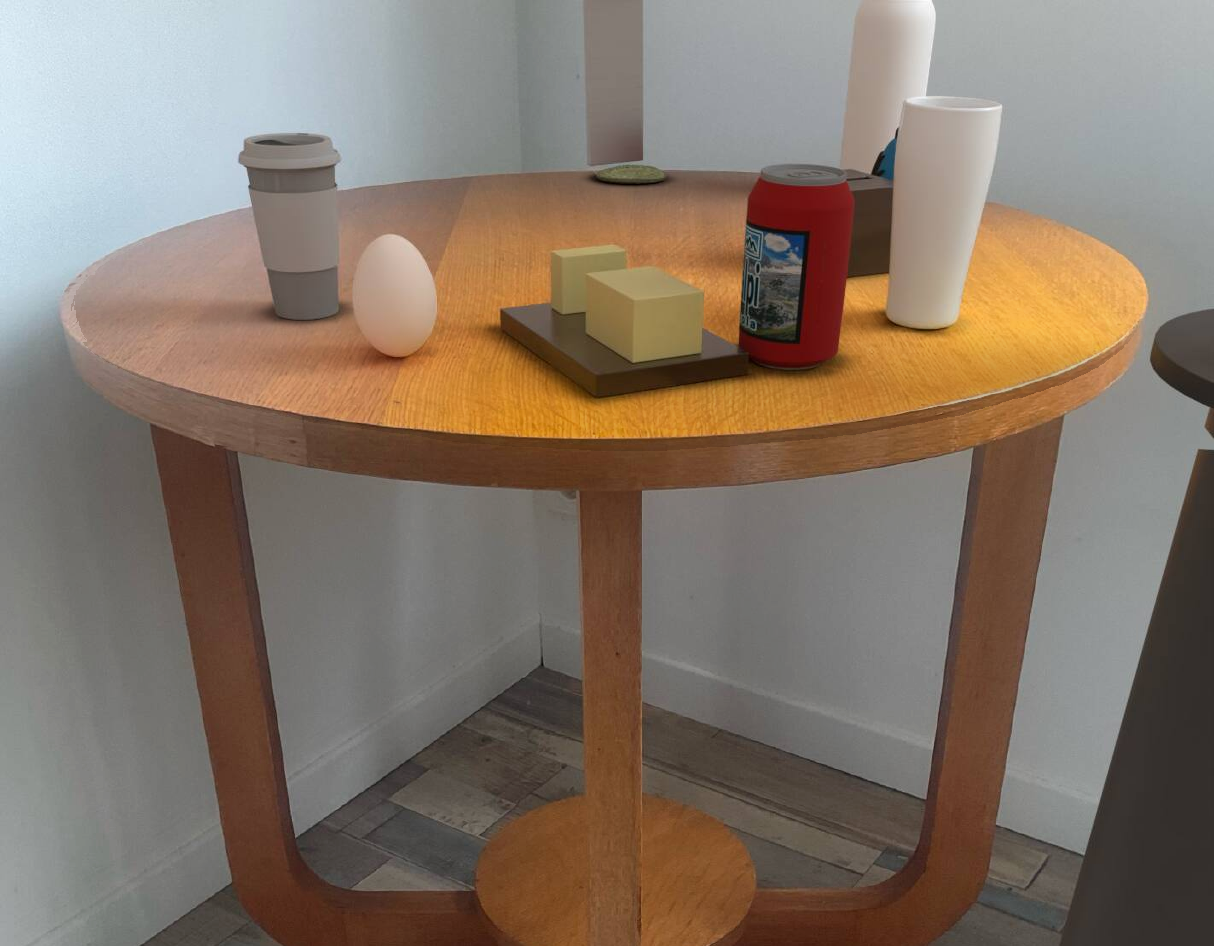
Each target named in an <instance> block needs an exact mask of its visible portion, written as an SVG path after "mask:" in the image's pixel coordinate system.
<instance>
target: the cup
mask: <svg viewBox="0 0 1214 946" xmlns="http://www.w3.org/2000/svg"><path fill="white" fill-rule="evenodd" d="M341 161H342V157H341V154H340V151H338V150H337V149H335V148H334V145H333V142H332V138H331V137H330V136H327V135H325V134H317V133H307V132H305V133H303V132H278V133H277V132H276V133H265V134H258V135H257V134H256V135H252V136H249V137H246V138H244V139H243V150H242V151H240V152H239V154H238V157H237V163H238V164H240V165H242V166H243V167H244V168H246V173H247V179H248V185H247V188H248V194H249V198H250V199H249V200H250V203H251V207H252V208H251V209H252V213H253V218H254V223H255V227H256V233H257V238H258V242H259V247H260V252H261V256H262V262H263V266H264V268H266V271H267V276H268V282H269V288H270V292H271V297H272V302H273V307H274V312H275V315H277V316H278V317H280V318H282V319H288V320H292V321H293V320H294V321H308V320H309V321H310V320H317V319H318V320H320V319H325V318H328V317H331V316H334V315H336V314H337V313H338V312H339V310H340V305H339V304H340V303H339V272H338V271H339V270H338V269H339V268H338V265H339V264H340V235H339V233H340V232H339V230H340V229H339V228H340V227H339V194H338V193H339V192H338V191H339V190H338V183H337V182H336V167H335V166H337V164H339V163H340V162H341Z"/></svg>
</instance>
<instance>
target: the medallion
mask: <svg viewBox="0 0 1214 946" xmlns="http://www.w3.org/2000/svg"><path fill="white" fill-rule="evenodd" d="M594 174H595V177H596V179H598V180H600V181H601V182H602V181H603V182H607V183H613V184H614V183H615V184H636V185H639V184H651V183H658V182H662V181H665V180H666V179H667V178H666V177H667V173H666V172H664V171H663V170H662V169H660V168H658V167H656V166H651V165H644V164H622V165H617V166H612V167H608V168H604V169H601V170H599V171H596V172H595V173H594Z"/></svg>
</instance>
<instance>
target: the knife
mask: <svg viewBox="0 0 1214 946" xmlns="http://www.w3.org/2000/svg"><path fill="white" fill-rule="evenodd" d="M582 5H583V43H584V44H583V45H584V46H583V47H584V48H583V49H584V87H585V88H584V90H585V126H586V128H585V131H586V165H587V166H589V167H595V166H604V165H605V166H606V165H614V164H622V163H632V162H640V161H644V0H582Z"/></svg>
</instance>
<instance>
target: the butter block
mask: <svg viewBox="0 0 1214 946" xmlns="http://www.w3.org/2000/svg"><path fill="white" fill-rule="evenodd" d="M704 309H705V291H704V290H703V289H700V288H698V287H696V286H695V285H692V284H690V283H688V282H686V281H684V280H682V279H680V278H678V277H677V276H674V275H672V274H670V273H667V272H665V271H664V270H662V269H659V268H658V267H656V266H653V265H649V266H641V267H631V268H626V269H622V270H613V271H604V272H595V273H587V274H586V334H588V335H589V336H591V337H593V338H594V339H596V340H597V341H599V342H600V343H602V344H604V345H605V346H607V347H608V348H610V349H611V350H613V351H615V352H616V353H618V354H619V355H621V356H622V357H624V358H626V359H627V360H629V361H630V362H632V363H637V362H644V361H651V360H658V359H665V358H672V357H678V356H685V355H692V354H699V353H701V349H702V329H703V328H704Z"/></svg>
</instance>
